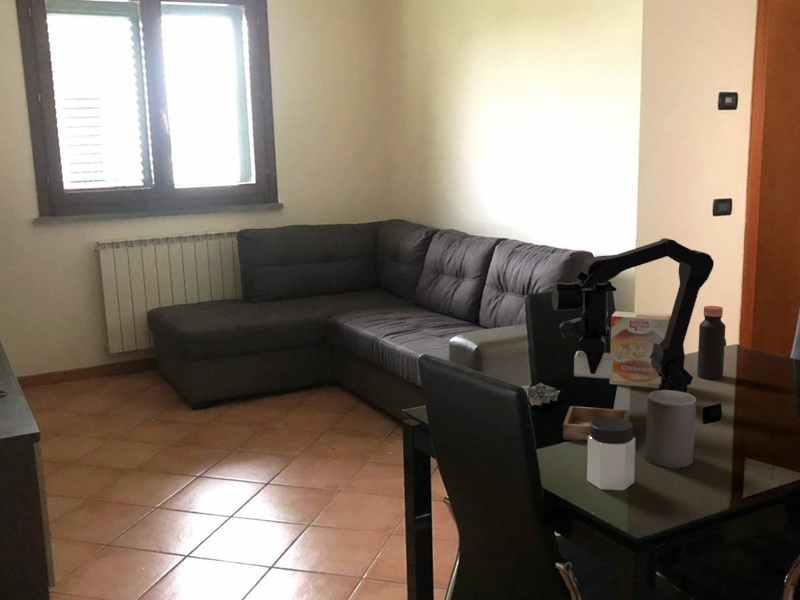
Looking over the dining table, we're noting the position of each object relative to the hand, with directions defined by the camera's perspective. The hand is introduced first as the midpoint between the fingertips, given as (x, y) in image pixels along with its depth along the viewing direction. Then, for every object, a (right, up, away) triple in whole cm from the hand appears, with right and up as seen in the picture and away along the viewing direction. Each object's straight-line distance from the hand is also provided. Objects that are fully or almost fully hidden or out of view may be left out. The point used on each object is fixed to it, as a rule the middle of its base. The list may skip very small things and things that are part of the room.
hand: (593, 370), depth 198 cm
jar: (-7, -18, -42) cm, 47 cm away
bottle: (+39, -4, +26) cm, 47 cm away
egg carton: (-13, -9, +9) cm, 18 cm away
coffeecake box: (+18, -6, +22) cm, 29 cm away
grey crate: (0, -1, 0) cm, 1 cm away
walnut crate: (-3, -13, -15) cm, 20 cm away
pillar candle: (+8, -16, -32) cm, 36 cm away
